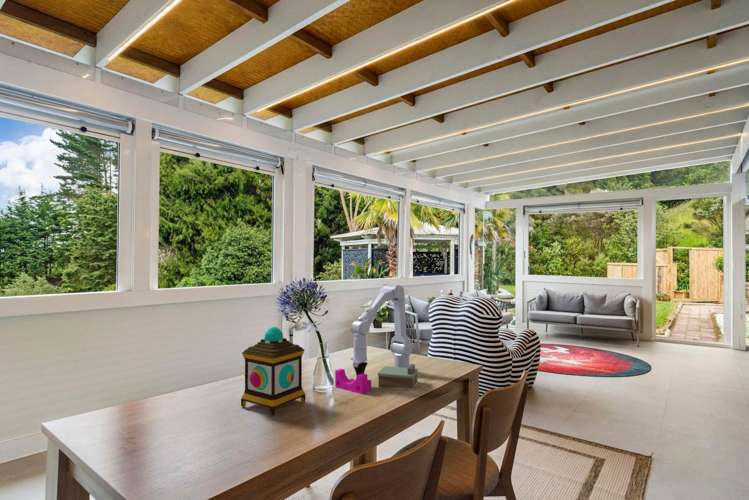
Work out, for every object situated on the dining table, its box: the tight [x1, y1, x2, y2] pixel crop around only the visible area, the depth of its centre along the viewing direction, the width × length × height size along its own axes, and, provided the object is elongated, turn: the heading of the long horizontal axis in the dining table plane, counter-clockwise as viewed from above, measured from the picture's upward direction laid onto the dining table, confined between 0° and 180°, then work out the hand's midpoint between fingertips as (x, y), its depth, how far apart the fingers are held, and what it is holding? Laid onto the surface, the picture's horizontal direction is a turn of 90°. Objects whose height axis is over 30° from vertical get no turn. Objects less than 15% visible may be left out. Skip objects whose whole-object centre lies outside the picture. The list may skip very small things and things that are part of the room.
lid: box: [377, 363, 419, 379], centre depth 188 cm, size 13×16×3 cm
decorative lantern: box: [240, 326, 306, 417], centre depth 163 cm, size 20×20×30 cm
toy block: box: [334, 368, 372, 395], centre depth 182 cm, size 15×6×8 cm, turn 52°
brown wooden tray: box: [378, 372, 418, 391], centre depth 188 cm, size 12×15×5 cm
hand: (360, 379), depth 185 cm, fingers closed
